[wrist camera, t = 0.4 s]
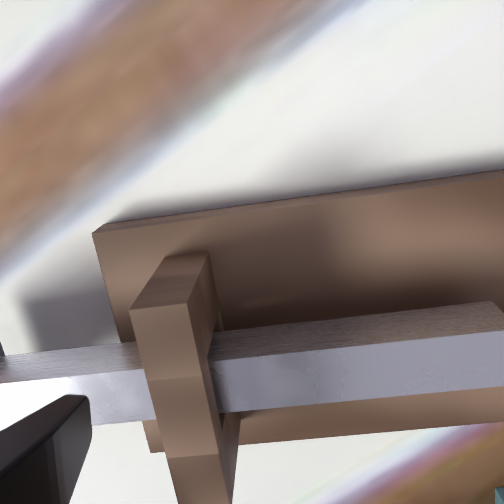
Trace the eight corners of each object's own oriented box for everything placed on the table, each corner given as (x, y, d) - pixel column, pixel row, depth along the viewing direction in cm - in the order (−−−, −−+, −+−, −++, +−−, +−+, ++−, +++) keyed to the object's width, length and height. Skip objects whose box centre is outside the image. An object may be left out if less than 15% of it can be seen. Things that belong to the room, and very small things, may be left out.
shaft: (483, 361, 21) (527, 420, 17) (-14, 412, 23) (-70, 473, 20) (483, 271, 20) (531, 314, 16) (-45, 334, 22) (-111, 383, 18)
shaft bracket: (620, 390, 24) (752, 503, 17) (157, 433, 26) (117, 548, 19) (647, 149, 20) (829, 177, 13) (103, 224, 22) (31, 279, 16)
